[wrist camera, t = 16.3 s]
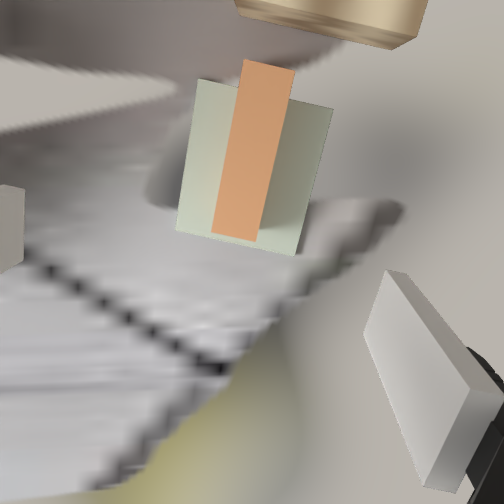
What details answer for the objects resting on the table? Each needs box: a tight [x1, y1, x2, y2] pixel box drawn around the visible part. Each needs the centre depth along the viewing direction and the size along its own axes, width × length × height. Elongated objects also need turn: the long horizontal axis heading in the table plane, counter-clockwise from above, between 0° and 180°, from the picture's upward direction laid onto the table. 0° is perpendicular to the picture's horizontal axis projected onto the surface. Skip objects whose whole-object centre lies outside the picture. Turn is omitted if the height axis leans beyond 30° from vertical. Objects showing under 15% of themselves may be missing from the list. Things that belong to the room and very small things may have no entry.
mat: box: [175, 78, 333, 257], centre depth 38 cm, size 12×14×1 cm
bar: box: [211, 59, 295, 242], centre depth 35 cm, size 4×14×4 cm, turn 168°
